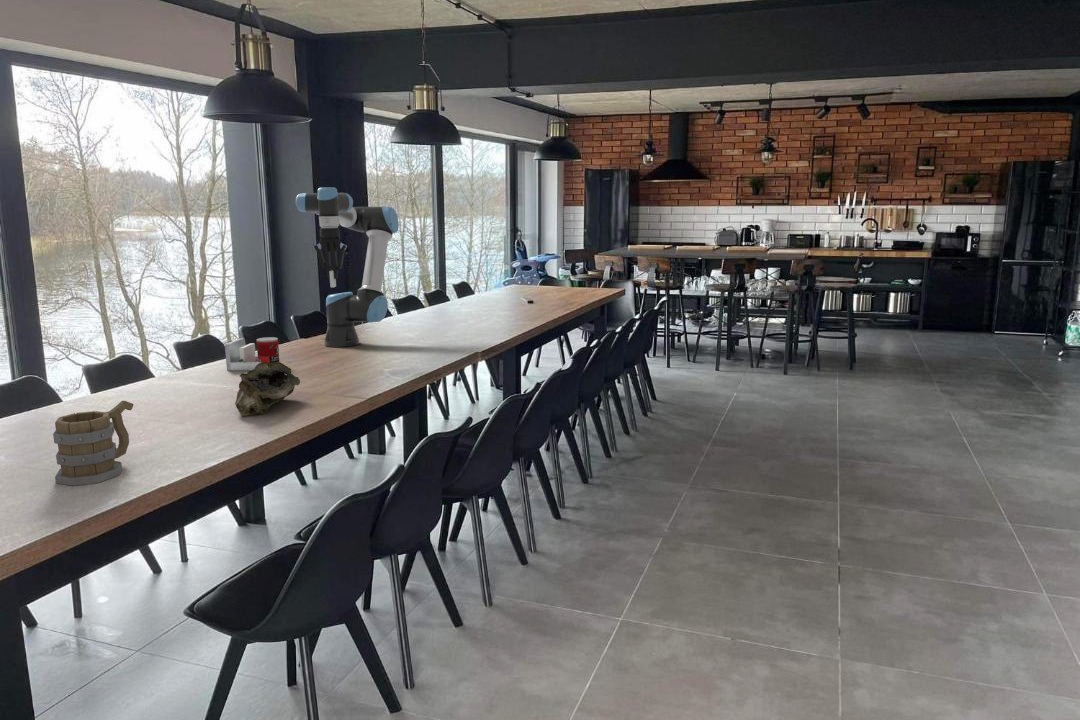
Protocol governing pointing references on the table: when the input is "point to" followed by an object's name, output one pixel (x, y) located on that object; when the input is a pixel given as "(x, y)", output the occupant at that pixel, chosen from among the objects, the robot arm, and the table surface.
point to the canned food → (268, 350)
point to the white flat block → (247, 353)
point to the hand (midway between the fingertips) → (333, 286)
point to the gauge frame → (237, 356)
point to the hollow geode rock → (264, 387)
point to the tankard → (90, 445)
